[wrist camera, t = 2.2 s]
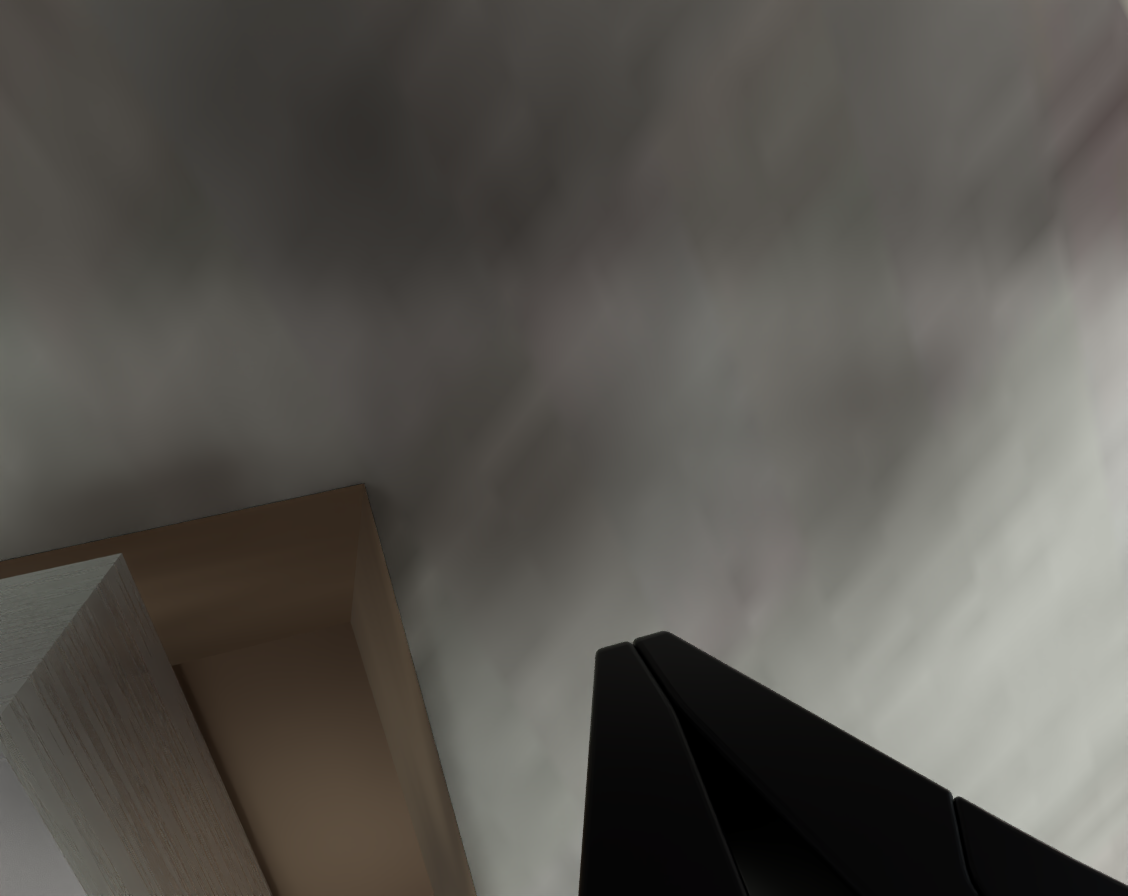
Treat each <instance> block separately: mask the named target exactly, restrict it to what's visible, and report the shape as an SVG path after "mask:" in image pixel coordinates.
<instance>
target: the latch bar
mask: <svg viewBox="0 0 1128 896" xmlns="http://www.w3.org/2000/svg"><path fill="white" fill-rule="evenodd" d="M0 896H272V894H271V891H270V889H269V887H268V884H267V882H266V880H265V878H264V875H263V873H262V871H261V868H260V866H259V864H258V862H257V859H256V857H255V855H254V853H253V850H252V848H251V846H250V843H249V841H248V839H247V837H246V834H245V832H244V830H243V827H242V825H241V823H240V821H239V818H238V816H237V814H236V812H235V809H234V807H233V805H232V802H231V800H230V798H229V796H228V793H227V791H226V789H225V787H224V784H223V782H222V780H221V777H220V775H219V773H218V771H217V768H216V766H215V764H214V761H213V759H212V757H211V755H210V752H209V750H208V748H207V746H206V743H205V741H204V739H203V736H202V734H201V732H200V730H199V727H198V725H197V723H196V720H195V718H194V716H193V714H192V711H191V709H190V707H189V705H188V702H187V700H186V698H185V695H184V693H183V691H182V689H181V686H180V684H179V682H178V680H177V677H176V675H175V673H174V670H173V668H172V666H171V664H170V661H169V659H168V657H167V654H166V652H165V650H164V648H163V645H162V643H161V641H160V639H159V636H158V634H157V632H156V629H155V627H154V625H153V623H152V620H151V618H150V616H149V613H148V611H147V609H146V607H145V604H144V602H143V600H142V598H141V595H140V593H139V591H138V588H137V586H136V584H135V582H134V579H133V577H132V575H131V573H130V570H129V568H128V566H127V563H126V561H125V559H124V557H123V554H122V553H119V554H114V555H110V556H105V557H101V558H96V559H91V560H87V561H82V562H78V563H73V564H69V565H64V566H59V567H55V568H50V569H46V570H41V571H37V572H32V573H27V574H23V575H18V576H14V577H9V578H5V579H0Z"/></svg>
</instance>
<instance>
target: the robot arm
mask: <svg viewBox="0 0 1128 896" xmlns="http://www.w3.org/2000/svg"><path fill="white" fill-rule="evenodd" d="M578 896H1128V885H1126V884H1124V883H1122V882H1120V881H1118V880H1116V879H1114V878H1112V877H1110V876H1108V875H1106V874H1104V873H1102V872H1100V871H1097V870H1095V869H1093V868H1091V867H1089V866H1087V865H1085V864H1083V863H1081V862H1079V861H1077V860H1075V859H1073V858H1071V857H1070V856H1068V855H1066V854H1064V853H1062V852H1060V851H1058V850H1057V849H1055V848H1053V847H1051V846H1049V845H1047V844H1046V843H1044V842H1042V841H1040V840H1038V839H1036V838H1034V837H1033V836H1031V835H1029V834H1027V833H1025V832H1023V831H1021V830H1020V829H1018V828H1016V827H1014V826H1012V825H1010V824H1008V823H1007V822H1005V821H1003V820H1001V819H999V818H998V817H996V816H994V815H992V814H991V813H989V812H987V811H985V810H983V809H982V808H980V807H978V806H976V805H975V804H973V803H971V802H969V801H968V800H966V799H964V798H962V797H959V796H958V797H955V798H954V800H953V796H952V793H951V792H950V791H949V790H948V789H946V788H944V787H942V786H940V785H939V784H937V783H935V782H933V781H932V780H930V779H928V778H926V777H925V776H923V775H921V774H919V773H917V772H916V771H914V770H912V769H910V768H909V767H907V766H905V765H903V764H902V763H900V762H898V761H896V760H895V759H893V758H891V757H889V756H887V755H886V754H884V753H882V752H880V751H879V750H877V749H875V748H873V747H872V746H870V745H868V744H866V743H865V742H863V741H861V740H859V739H857V738H856V737H854V736H852V735H850V734H849V733H847V732H845V731H843V730H842V729H840V728H838V727H836V726H834V725H833V724H831V723H829V722H827V721H826V720H824V719H822V718H820V717H819V716H817V715H815V714H813V713H812V712H810V711H808V710H806V709H804V708H803V707H801V706H799V705H797V704H796V703H794V702H792V701H790V700H789V699H787V698H785V697H783V696H781V695H780V694H778V693H776V692H774V691H773V690H771V689H769V688H767V687H766V686H764V685H762V684H760V683H759V682H757V681H755V680H753V679H751V678H750V677H748V676H746V675H744V674H743V673H741V672H739V671H737V670H736V669H734V668H732V667H730V666H729V665H727V664H725V663H723V662H721V661H720V660H718V659H716V658H714V657H713V656H711V655H709V654H707V653H706V652H704V651H702V650H700V649H698V648H697V647H695V646H693V645H691V644H690V643H688V642H686V641H684V640H683V639H681V638H679V637H677V636H676V635H674V634H672V633H670V632H667V631H660V632H657V633H653V634H650V635H646V636H643V637H639V638H637V639H635V640H634V642H633V644H632V643H630V642H621V643H618V644H614V645H611V646H607V647H604V648H601V649H599V650H598V651H597V652H596V656H595V670H594V684H593V698H592V712H591V726H590V741H589V755H588V769H587V783H586V797H585V811H584V825H583V839H582V853H581V867H580V881H579V895H578Z"/></svg>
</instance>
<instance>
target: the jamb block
mask: <svg viewBox="0 0 1128 896" xmlns="http://www.w3.org/2000/svg"><path fill="white" fill-rule="evenodd" d="M119 553H122V554H123V557H124V559H125V561H126V563H127V566H128V568H129V570H130V573H131V575H132V577H133V579H134V582H135V584H136V586H137V588H138V591H139V593H140V595H141V598H142V600H143V602H144V604H145V607H146V609H147V611H148V613H149V616H150V618H151V620H152V623H153V625H154V627H155V629H156V632H157V634H158V636H159V639H160V641H161V643H162V645H163V648H164V650H165V652H166V654H167V657H168V659H169V661H170V664H171V666H172V668H173V670H174V673H175V675H176V677H177V680H178V682H179V684H180V686H181V689H182V691H183V693H184V695H185V698H186V700H187V702H188V705H189V707H190V709H191V711H192V714H193V716H194V718H195V720H196V723H197V725H198V727H199V730H200V732H201V734H202V736H203V739H204V741H205V743H206V746H207V748H208V750H209V752H210V755H211V757H212V759H213V761H214V764H215V766H216V768H217V771H218V773H219V775H220V777H221V780H222V782H223V784H224V787H225V789H226V791H227V793H228V796H229V798H230V800H231V802H232V805H233V807H234V809H235V812H236V814H237V816H238V818H239V821H240V823H241V825H242V827H243V830H244V832H245V834H246V837H247V839H248V841H249V843H250V846H251V848H252V850H253V853H254V855H255V857H256V859H257V862H258V864H259V866H260V868H261V871H262V873H263V875H264V878H265V880H266V882H267V884H268V887H269V889H270V891H271V894H272V896H477V895H476V891H475V888H474V884H473V880H472V877H471V873H470V869H469V866H468V862H467V858H466V855H465V851H464V847H463V844H462V840H461V836H460V833H459V829H458V825H457V822H456V818H455V814H454V811H453V807H452V803H451V800H450V796H449V792H448V789H447V785H446V781H445V778H444V774H443V771H442V767H441V763H440V760H439V756H438V752H437V749H436V745H435V741H434V738H433V734H432V730H431V727H430V723H429V719H428V716H427V712H426V708H425V705H424V701H423V697H422V694H421V690H420V686H419V683H418V679H417V675H416V672H415V668H414V664H413V661H412V657H411V653H410V650H409V646H408V642H407V639H406V635H405V631H404V628H403V624H402V620H401V617H400V613H399V609H398V606H397V602H396V598H395V595H394V591H393V587H392V584H391V580H390V576H389V573H388V569H387V565H386V562H385V558H384V554H383V551H382V547H381V543H380V540H379V536H378V532H377V529H376V525H375V521H374V518H373V514H372V510H371V507H370V503H369V499H368V496H367V492H366V488H365V485H364V484H359V485H354V486H350V487H345V488H341V489H336V490H331V491H327V492H322V493H317V494H313V495H308V496H303V497H299V498H294V499H289V500H285V501H280V502H275V503H271V504H266V505H261V506H257V507H252V508H248V509H243V510H238V511H234V512H229V513H224V514H220V515H215V516H210V517H206V518H201V519H196V520H192V521H187V522H182V523H178V524H173V525H168V526H164V527H159V528H154V529H150V530H145V531H141V532H136V533H131V534H127V535H122V536H117V537H113V538H108V539H103V540H99V541H94V542H89V543H85V544H80V545H75V546H71V547H66V548H61V549H57V550H52V551H48V552H43V553H38V554H34V555H29V556H24V557H20V558H15V559H10V560H6V561H1V562H0V579H5V578H9V577H14V576H18V575H23V574H27V573H32V572H37V571H41V570H46V569H50V568H55V567H59V566H64V565H69V564H73V563H78V562H82V561H87V560H91V559H96V558H101V557H105V556H110V555H114V554H119Z"/></svg>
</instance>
